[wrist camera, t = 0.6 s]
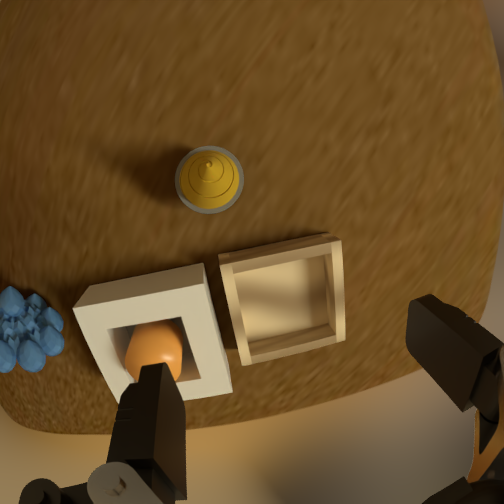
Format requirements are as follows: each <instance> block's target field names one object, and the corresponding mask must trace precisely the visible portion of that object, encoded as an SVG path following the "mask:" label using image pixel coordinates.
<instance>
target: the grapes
mask: <svg viewBox="0 0 504 504" xmlns="http://www.w3.org/2000/svg"><path fill="white" fill-rule="evenodd" d="M62 328H63V319H62V317H61V315H60V314H59V313H58V312H57V311H56V310H54V309H53V308H51V307H48V308H47V305H46V302H45V301H44V300H43V299H42V297H40V296H39V295H37V294H35V293H34V294H32V295H30V296H29V297H28V298H27V299H26V300H25V299H23V296H22V295H21V294H20V292H19V291H18V290H16V289H15V288H13V287H11V286H9V287H7V288H6V289H4V290H3V291H2V292H1V294H0V372H2V373H7V372H9V371H11V370H12V369H13V367H14V366H15V364H16V358H17V360H18V363H19V365H20V366H21V367H22V368H23V369H24V370H26V371H29V372H38V371H39V370H41V369H42V368H43V366H44V365H45V358H46V356H45V354H46V355H48V356H56V355H58V354H60V353H61V351H62V350H63V348H64V339H63V337H62V334H61V333H60V331H61V330H62Z"/></svg>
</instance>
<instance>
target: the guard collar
mask: <svg viewBox="0 0 504 504" xmlns="http://www.w3.org/2000/svg"><path fill="white" fill-rule="evenodd" d="M73 311H74V313H75V316H76V318H77V321H78V323H79V325H80V328H81V330H82V332H83V335H84V337H85V339H86V341H87V343H88V346H89V348H90V350H91V352H92V354H93V356H94V358H95V360H96V362H97V364H98V366H99V368H100V370H101V372H102V374H103V376H104V378H105V380H106V382H107V384H108V386H109V388H110V389H111V391H112V393H113V395H114V397H115V398H116V400H117V402H118V404H119V401H120V397H121V395H122V393H123V392H124V390H125V389H126V388H127V386H128V385H129V384H130V383H138V381H136V380H135V379H134V378H133V377H132V376H131V375H130V374H129V373H128V371H127V369H126V367H125V356H126V353H127V349H128V346H129V343H130V340H131V337H132V334H133V331H134V328H135V326H136V325H137V324H141V323H147V322H153V321H158V320H164V319H169V320H171V321H172V322H174V323H175V324H176V325H177V326H178V327H179V328H180V330H181V332H182V335H183V349H182V364H181V373H180V376H179V377H178V379H177V380H176V381H175V382H176V385H177V387H178V389H179V392H180V394H181V396H182V399H183V401H184V400H190V399H197V398H203V397H209V396H215V395H221V394H226V393H231V392H233V391H232V385H231V378H230V372H229V365H228V360H227V356H226V353H225V349H224V345H223V341H222V337H221V333H220V329H219V326H218V322H217V318H216V314H215V310H214V305H213V301H212V297H211V293H210V289H209V285H208V280H207V276H206V272H205V268H204V263H199V264H194V265H190V266H185V267H180V268H175V269H170V270H165V271H160V272H155V273H150V274H145V275H140V276H136V277H131V278H126V279H121V280H116V281H111V282H106V283H101V284H96V285H91V286H89V287H88V288H87V290H86V291H85V292H84V294H83V295H82V296H81V298H80V299H79V300H78V302H77V303H76V304H75V306H74V307H73Z"/></svg>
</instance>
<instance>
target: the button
mask: <svg viewBox="0 0 504 504" xmlns="http://www.w3.org/2000/svg"><path fill="white" fill-rule="evenodd" d="M182 349H183V335H182V332H181V330H180V328H179V327H178V326H177V325H176V324H175V323H174V322H172V321H171V320H169V319H164V320H158V321H153V322H147V323H141V324H137V325H136V326H135V328H134V331H133V334H132V337H131V340H130V343H129V346H128V349H127V353H126V356H125V367H126V369H127V371H128V373H129V374H130V375H131V376H132V377H133V378H134V379H135V380H136V381H138V379H139V374H140V370H141V367H142V366H143V365H149V364H156V363H162V362H166V363H167V364H168V366H169V368H170V371H171V373H172V376H173V378H174V380H175V381H176V380H177V379H178V377H179V376H180V373H181V364H182Z"/></svg>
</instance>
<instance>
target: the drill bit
mask: <svg viewBox="0 0 504 504" xmlns="http://www.w3.org/2000/svg"><path fill="white" fill-rule="evenodd" d="M243 183H244V175H243V170H242V167H241V165H240V163H239V161H238V160H237V159H236V157H235V156H234V155H233V154H231V153H230V152H229V151H227V150H225V149H223V148H220V147H217V146H203V147H200V148H196V149H194V150H193V151H191V152H189V153H188V154H187V155H186V156H185V157H184V158H183V159H182V160H181V162H180V163H179V165H178V167H177V170H176V173H175V187H176V191H177V194H178V195H179V197H180V199H181V200H182V201H183V203H184V204H185V205H186V206H188V207H189V208H190V209H192V210H194V211H196V212H199V213H203V214H215V213H219V212H222V211H224V210H226V209H228V208H229V207H230V206H231V205H233V204H234V202H235V201H236V200H237V199H238V197H239V195H240V194H241V191H242V188H243Z"/></svg>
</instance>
